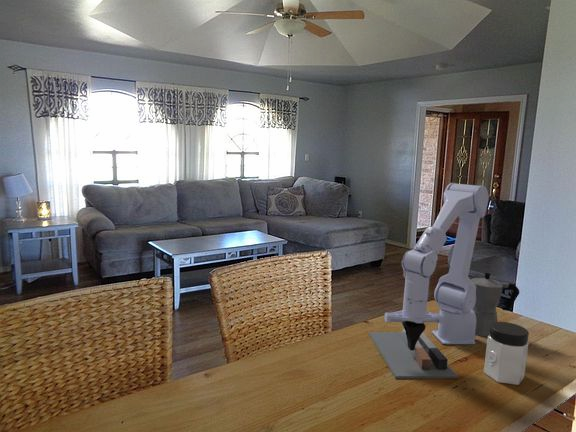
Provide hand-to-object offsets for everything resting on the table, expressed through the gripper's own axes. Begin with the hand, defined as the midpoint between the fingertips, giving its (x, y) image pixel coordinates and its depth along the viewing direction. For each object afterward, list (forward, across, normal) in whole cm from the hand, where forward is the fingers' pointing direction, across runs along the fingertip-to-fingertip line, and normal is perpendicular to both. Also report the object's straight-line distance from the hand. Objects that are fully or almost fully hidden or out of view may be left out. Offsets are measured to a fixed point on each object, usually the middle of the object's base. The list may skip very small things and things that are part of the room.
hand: (411, 348), depth 110 cm
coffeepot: (+2, +29, +16) cm, 33 cm away
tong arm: (+2, +3, +3) cm, 4 cm away
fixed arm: (+2, +5, +1) cm, 5 cm away
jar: (+3, +20, -9) cm, 22 cm away
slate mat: (+2, 0, +2) cm, 3 cm away
